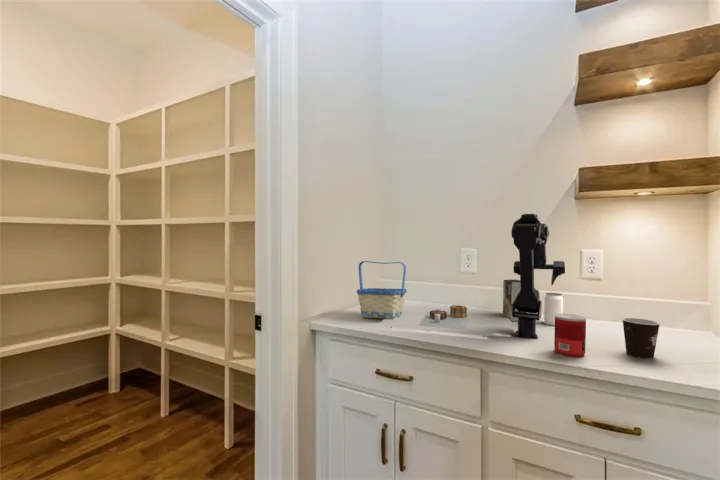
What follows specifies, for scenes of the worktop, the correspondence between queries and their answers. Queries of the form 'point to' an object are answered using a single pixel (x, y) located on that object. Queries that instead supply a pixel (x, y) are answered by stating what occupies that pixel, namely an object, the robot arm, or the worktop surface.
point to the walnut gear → (442, 313)
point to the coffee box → (510, 296)
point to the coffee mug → (640, 337)
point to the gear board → (445, 321)
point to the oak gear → (458, 311)
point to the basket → (381, 299)
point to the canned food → (570, 335)
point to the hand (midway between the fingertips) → (539, 284)
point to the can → (552, 307)
